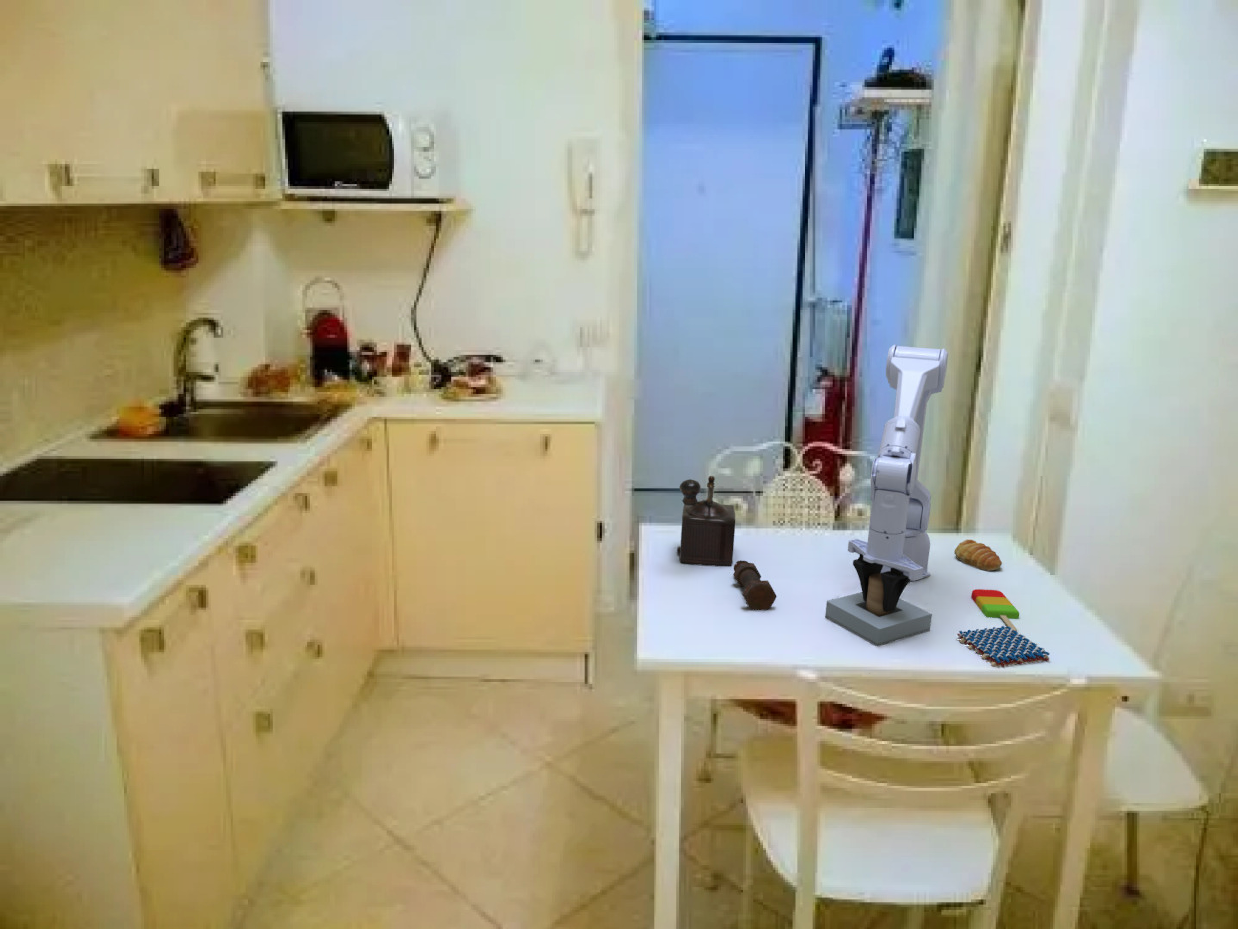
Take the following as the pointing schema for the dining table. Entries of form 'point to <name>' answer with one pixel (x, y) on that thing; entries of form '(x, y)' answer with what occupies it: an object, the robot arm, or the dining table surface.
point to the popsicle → (995, 605)
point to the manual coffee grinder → (705, 527)
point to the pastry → (977, 555)
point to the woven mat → (1003, 646)
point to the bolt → (754, 586)
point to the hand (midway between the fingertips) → (878, 605)
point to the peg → (875, 596)
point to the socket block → (878, 619)
